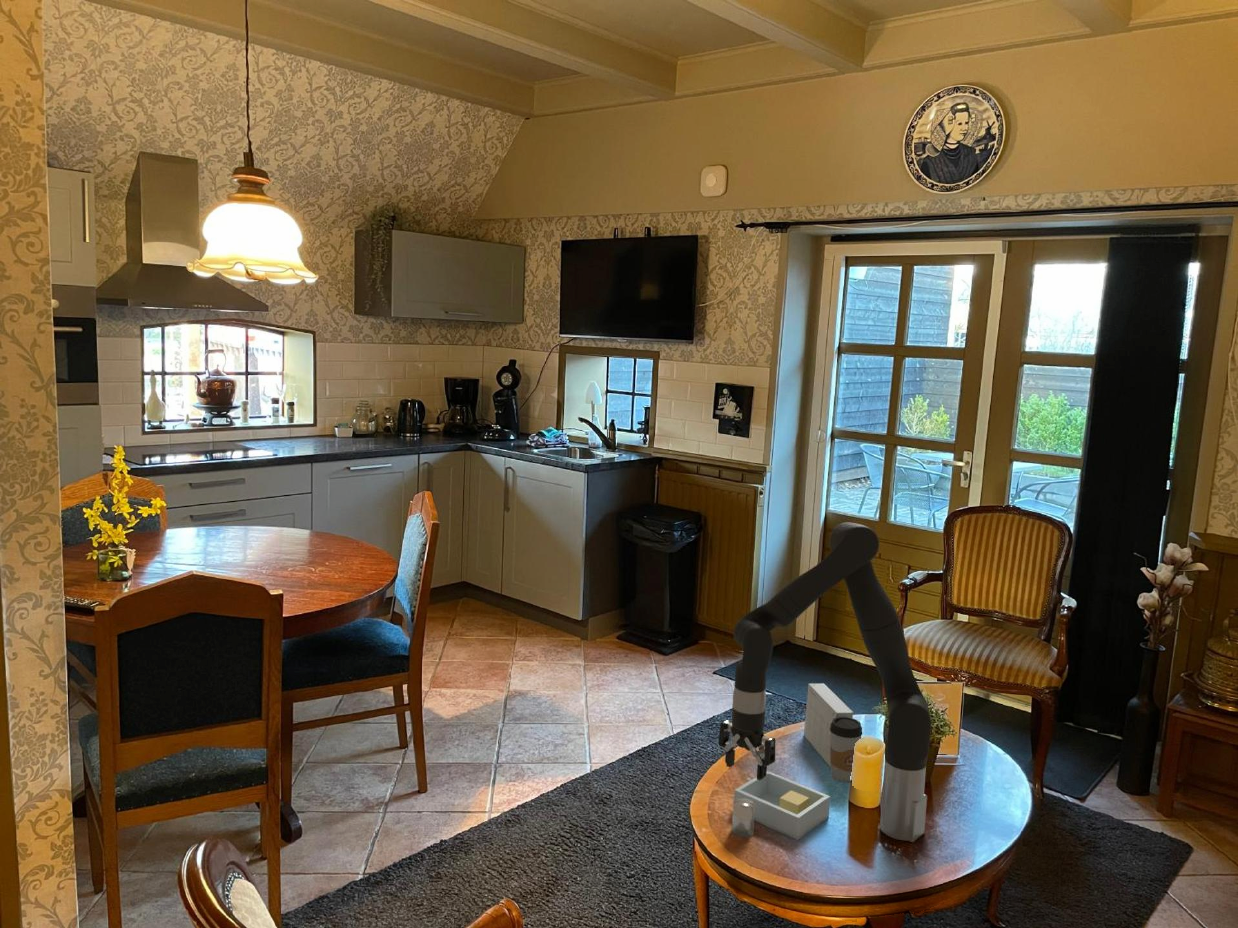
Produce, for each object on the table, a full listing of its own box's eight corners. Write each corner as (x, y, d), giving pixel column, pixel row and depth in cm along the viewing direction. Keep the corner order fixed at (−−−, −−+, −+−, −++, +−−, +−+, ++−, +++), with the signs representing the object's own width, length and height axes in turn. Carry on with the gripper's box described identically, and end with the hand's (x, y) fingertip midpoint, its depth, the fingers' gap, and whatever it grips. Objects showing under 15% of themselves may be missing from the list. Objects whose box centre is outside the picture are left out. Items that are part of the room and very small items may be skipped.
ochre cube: (790, 809, 226) (791, 790, 225) (808, 817, 222) (809, 797, 222) (778, 817, 222) (779, 797, 221) (796, 824, 219) (798, 805, 218)
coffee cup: (835, 785, 239) (839, 730, 237) (821, 770, 247) (824, 717, 245) (865, 782, 241) (868, 728, 239) (850, 767, 249) (853, 714, 247)
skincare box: (850, 768, 249) (854, 712, 247) (831, 769, 248) (834, 713, 246) (820, 734, 270) (824, 681, 267) (803, 734, 269) (806, 682, 266)
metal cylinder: (757, 831, 217) (759, 803, 216) (745, 839, 213) (746, 811, 212) (740, 823, 220) (741, 795, 219) (727, 831, 216) (728, 803, 215)
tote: (828, 817, 224) (830, 796, 223) (797, 839, 214) (798, 817, 213) (766, 790, 236) (767, 770, 235) (733, 810, 226) (734, 789, 225)
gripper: (784, 710, 210) (780, 777, 212) (733, 692, 220) (729, 756, 222) (765, 720, 205) (761, 788, 207) (714, 700, 214) (710, 766, 217)
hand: (745, 772), depth 215 cm, fingers open, 8 cm apart
